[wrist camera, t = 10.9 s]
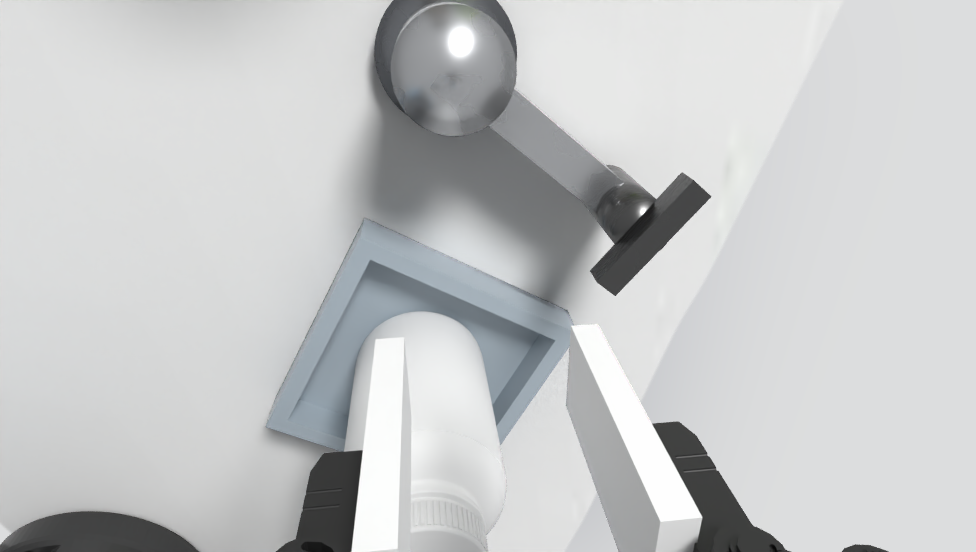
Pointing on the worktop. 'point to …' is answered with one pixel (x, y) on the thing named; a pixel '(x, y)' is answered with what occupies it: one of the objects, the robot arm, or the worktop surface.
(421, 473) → the pill bottle
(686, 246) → the worktop surface
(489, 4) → the crank base
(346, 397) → the tray
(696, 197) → the crank
